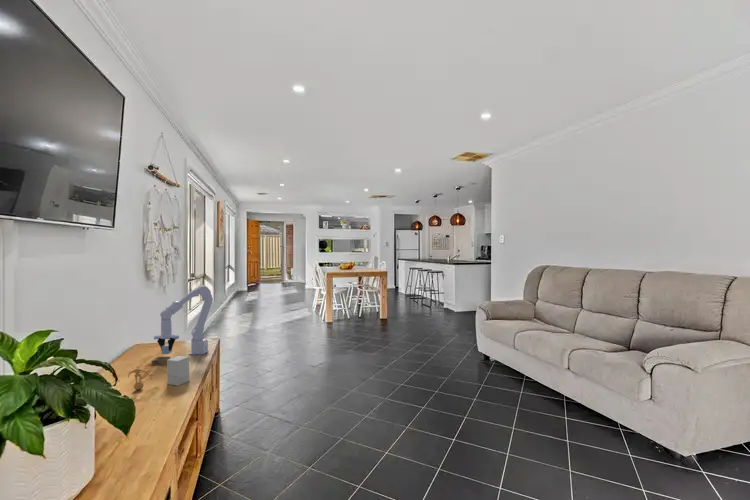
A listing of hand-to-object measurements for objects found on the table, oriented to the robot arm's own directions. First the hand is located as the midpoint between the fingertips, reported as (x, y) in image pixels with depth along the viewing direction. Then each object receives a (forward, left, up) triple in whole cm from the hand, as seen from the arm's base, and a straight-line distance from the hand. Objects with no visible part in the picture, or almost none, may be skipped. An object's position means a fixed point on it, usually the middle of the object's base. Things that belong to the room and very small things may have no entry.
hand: (166, 350), depth 224 cm
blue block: (0, 0, -2) cm, 2 cm away
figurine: (-15, +51, -5) cm, 53 cm away
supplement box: (-29, +41, -5) cm, 50 cm away
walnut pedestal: (-2, +11, -5) cm, 12 cm away
